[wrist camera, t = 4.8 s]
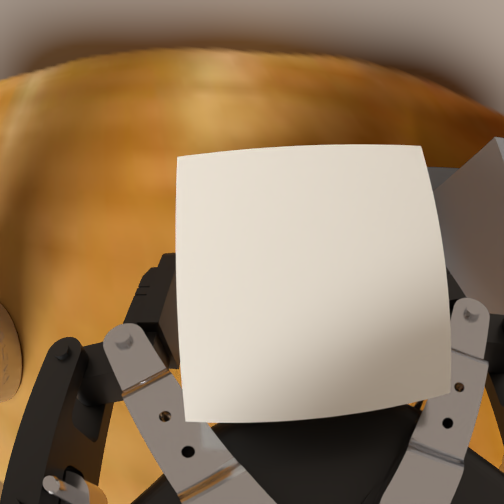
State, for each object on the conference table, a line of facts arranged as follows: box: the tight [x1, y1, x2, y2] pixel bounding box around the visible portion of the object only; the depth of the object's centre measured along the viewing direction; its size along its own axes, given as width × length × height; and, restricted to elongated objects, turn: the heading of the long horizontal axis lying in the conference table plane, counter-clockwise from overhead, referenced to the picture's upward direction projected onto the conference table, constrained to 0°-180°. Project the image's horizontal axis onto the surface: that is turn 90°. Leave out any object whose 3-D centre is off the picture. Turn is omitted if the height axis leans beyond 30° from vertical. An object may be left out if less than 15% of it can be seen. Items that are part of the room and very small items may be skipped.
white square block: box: [176, 144, 451, 423], centre depth 12 cm, size 4×4×14 cm
